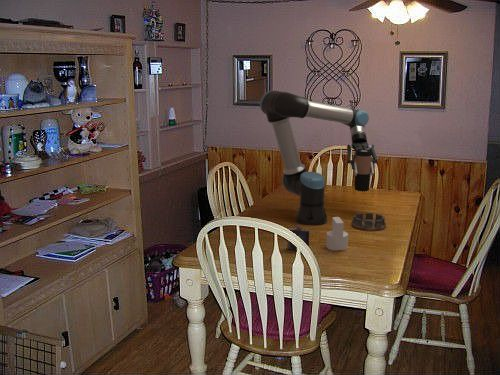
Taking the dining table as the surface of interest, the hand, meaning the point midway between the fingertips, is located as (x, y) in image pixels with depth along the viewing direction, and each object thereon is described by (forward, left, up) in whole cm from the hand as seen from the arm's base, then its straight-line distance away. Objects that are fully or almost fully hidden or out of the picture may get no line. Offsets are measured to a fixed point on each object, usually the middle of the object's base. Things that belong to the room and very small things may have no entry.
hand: (364, 174), depth 269 cm
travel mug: (+2, +3, -9) cm, 9 cm away
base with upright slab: (-38, -26, -23) cm, 52 cm away
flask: (-54, -20, -23) cm, 62 cm away
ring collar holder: (-6, -11, -22) cm, 26 cm away
